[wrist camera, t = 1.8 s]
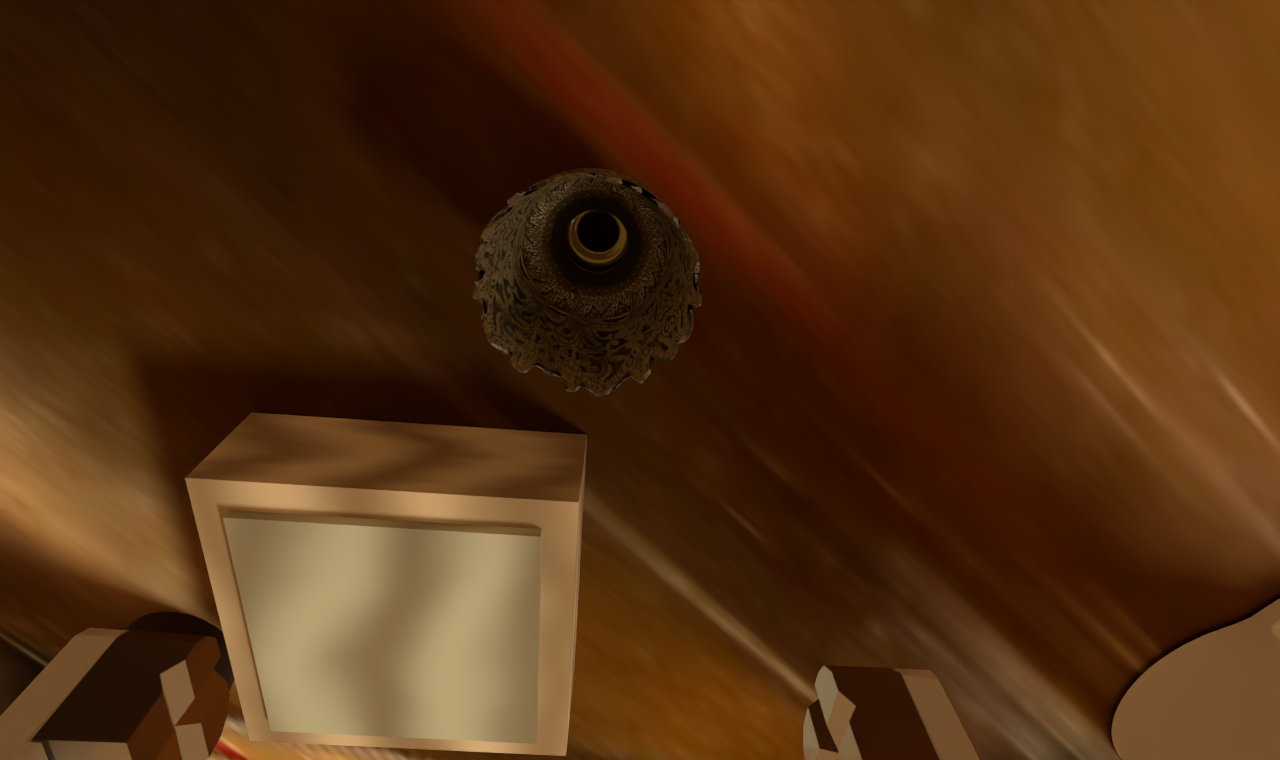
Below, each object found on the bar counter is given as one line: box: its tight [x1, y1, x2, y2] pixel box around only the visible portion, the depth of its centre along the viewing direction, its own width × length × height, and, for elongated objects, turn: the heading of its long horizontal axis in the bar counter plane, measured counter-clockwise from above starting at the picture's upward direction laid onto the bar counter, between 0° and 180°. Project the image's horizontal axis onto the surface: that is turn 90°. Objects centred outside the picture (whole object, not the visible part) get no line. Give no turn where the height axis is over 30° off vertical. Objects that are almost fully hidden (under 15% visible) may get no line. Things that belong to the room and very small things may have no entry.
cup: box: [472, 168, 702, 397], centre depth 26 cm, size 8×7×8 cm
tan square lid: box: [185, 412, 587, 756], centre depth 35 cm, size 16×16×6 cm
